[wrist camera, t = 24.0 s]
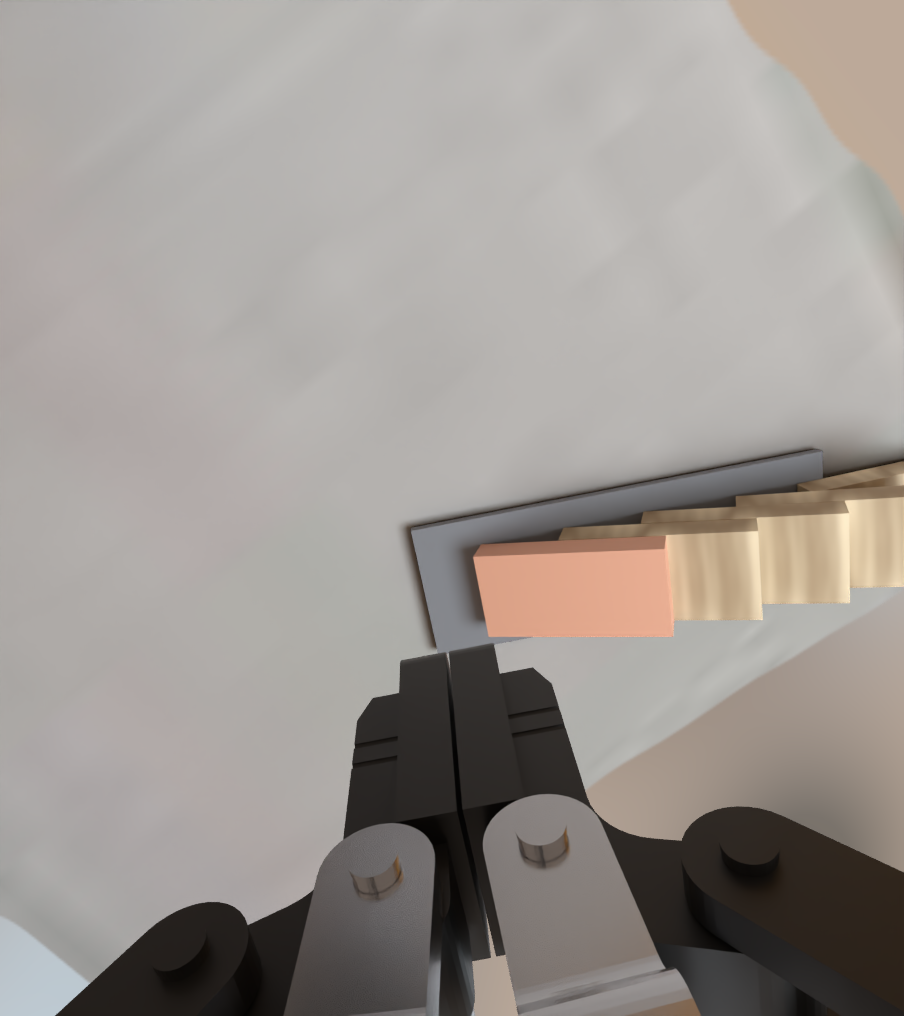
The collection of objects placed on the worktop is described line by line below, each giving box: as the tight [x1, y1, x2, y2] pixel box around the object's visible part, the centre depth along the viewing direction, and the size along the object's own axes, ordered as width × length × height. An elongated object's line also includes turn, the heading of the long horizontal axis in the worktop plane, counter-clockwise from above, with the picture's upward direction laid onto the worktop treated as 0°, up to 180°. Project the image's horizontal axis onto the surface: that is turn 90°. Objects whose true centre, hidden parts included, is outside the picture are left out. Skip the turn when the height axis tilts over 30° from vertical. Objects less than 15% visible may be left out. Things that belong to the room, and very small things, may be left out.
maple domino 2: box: [641, 501, 850, 604], centre depth 40 cm, size 2×5×10 cm
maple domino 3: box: [797, 461, 904, 492], centre depth 42 cm, size 2×5×10 cm
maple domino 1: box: [558, 518, 763, 620], centre depth 40 cm, size 2×5×10 cm
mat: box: [411, 449, 823, 654], centre depth 43 cm, size 23×8×1 cm, turn 101°
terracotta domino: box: [473, 536, 674, 637], centre depth 40 cm, size 2×5×10 cm
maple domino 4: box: [736, 485, 904, 588], centre depth 40 cm, size 2×5×10 cm
